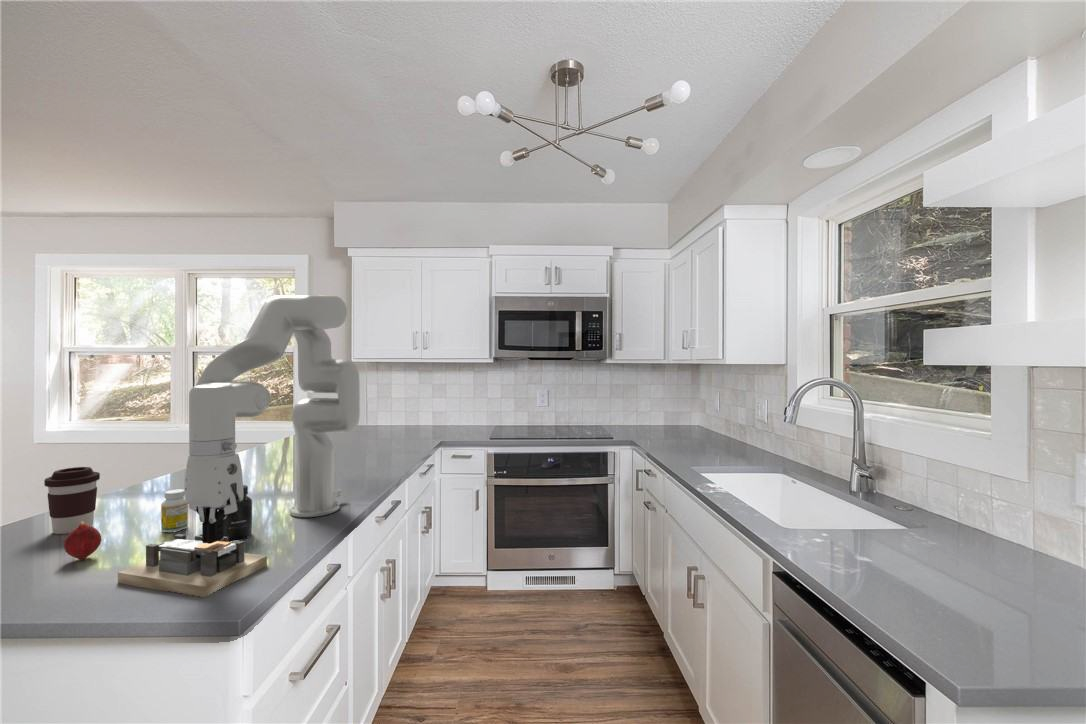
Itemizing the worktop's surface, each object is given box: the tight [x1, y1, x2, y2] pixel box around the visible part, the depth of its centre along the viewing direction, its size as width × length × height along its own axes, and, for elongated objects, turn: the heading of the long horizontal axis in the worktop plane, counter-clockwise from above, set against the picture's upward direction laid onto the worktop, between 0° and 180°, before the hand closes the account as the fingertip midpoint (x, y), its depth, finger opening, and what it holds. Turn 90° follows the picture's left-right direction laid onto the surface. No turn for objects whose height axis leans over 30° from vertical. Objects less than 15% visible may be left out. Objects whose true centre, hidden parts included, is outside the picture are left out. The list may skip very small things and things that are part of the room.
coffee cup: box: [43, 466, 101, 535], centre depth 122 cm, size 10×10×15 cm
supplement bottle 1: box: [160, 488, 189, 533], centre depth 122 cm, size 5×5×10 cm
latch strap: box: [158, 538, 236, 557], centre depth 98 cm, size 4×16×1 cm, turn 75°
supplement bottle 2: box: [223, 484, 253, 541], centre depth 117 cm, size 7×7×12 cm
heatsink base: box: [117, 533, 268, 598], centre depth 98 cm, size 14×21×6 cm, turn 75°
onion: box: [63, 522, 102, 561], centre depth 104 cm, size 6×6×8 cm
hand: (213, 540), depth 96 cm, fingers closed
